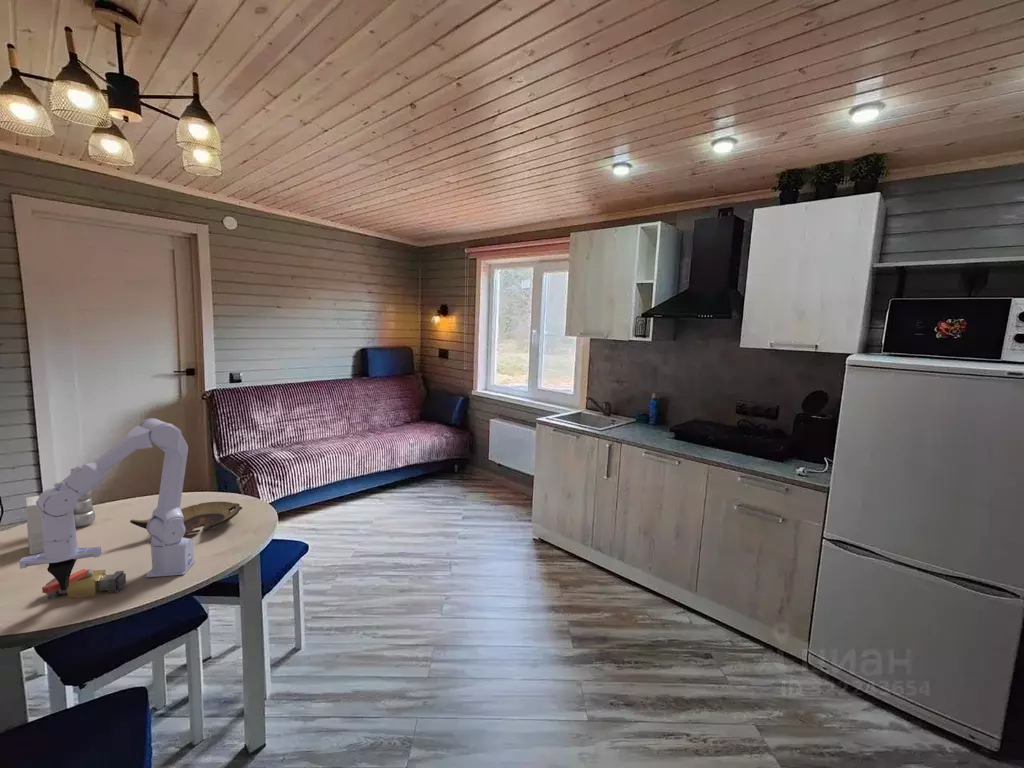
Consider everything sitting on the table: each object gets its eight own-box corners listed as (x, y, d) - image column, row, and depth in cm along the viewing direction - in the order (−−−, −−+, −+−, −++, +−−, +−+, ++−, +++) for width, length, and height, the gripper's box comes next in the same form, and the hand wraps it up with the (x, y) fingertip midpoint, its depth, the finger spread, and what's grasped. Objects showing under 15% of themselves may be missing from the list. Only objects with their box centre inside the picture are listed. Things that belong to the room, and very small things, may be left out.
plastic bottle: (98, 524, 159) (95, 468, 156) (72, 531, 153) (68, 473, 151) (92, 519, 162) (88, 464, 160) (66, 525, 157) (61, 468, 154)
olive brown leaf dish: (237, 536, 156) (236, 515, 155) (125, 549, 144) (124, 526, 143) (245, 510, 176) (245, 491, 175) (148, 520, 164) (147, 499, 163)
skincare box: (28, 545, 143) (24, 497, 141) (58, 539, 148) (54, 492, 146) (29, 556, 137) (25, 505, 135) (60, 548, 142) (56, 500, 140)
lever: (87, 571, 123) (87, 566, 123) (95, 572, 123) (94, 567, 122) (42, 592, 113) (41, 587, 113) (49, 594, 113) (49, 588, 113)
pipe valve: (128, 583, 127) (127, 567, 126) (118, 593, 122) (117, 576, 122) (56, 589, 123) (55, 572, 122) (43, 599, 118) (42, 582, 117)
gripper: (103, 525, 120) (107, 574, 122) (27, 534, 114) (32, 586, 115) (94, 536, 114) (98, 588, 116) (12, 547, 107) (18, 602, 109)
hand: (64, 588), depth 115 cm, fingers closed, pressing on lever
